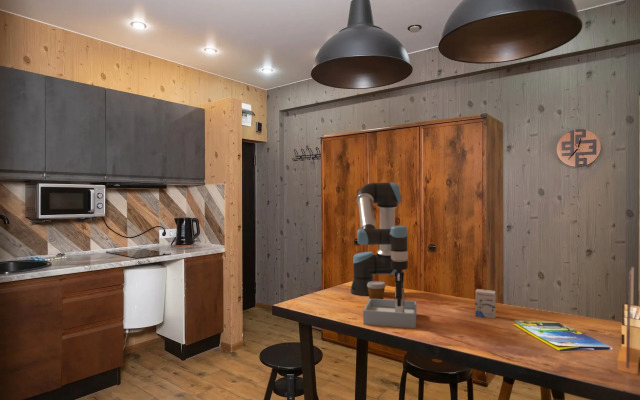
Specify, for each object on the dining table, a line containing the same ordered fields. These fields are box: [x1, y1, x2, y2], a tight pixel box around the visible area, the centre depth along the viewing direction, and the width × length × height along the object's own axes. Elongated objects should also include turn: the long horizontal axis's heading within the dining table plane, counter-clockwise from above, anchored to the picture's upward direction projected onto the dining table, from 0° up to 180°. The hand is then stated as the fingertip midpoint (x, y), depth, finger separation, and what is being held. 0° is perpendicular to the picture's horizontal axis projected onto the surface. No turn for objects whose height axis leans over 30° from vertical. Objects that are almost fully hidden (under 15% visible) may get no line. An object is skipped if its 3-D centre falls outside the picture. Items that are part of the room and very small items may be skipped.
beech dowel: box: [394, 287, 405, 313], centre depth 172 cm, size 4×4×14 cm
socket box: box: [362, 298, 418, 329], centre depth 174 cm, size 21×22×6 cm
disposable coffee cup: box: [367, 280, 386, 299], centre depth 194 cm, size 10×10×12 cm
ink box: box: [474, 288, 497, 320], centre depth 176 cm, size 9×5×12 cm, turn 62°
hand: (399, 310), depth 172 cm, fingers open, 6 cm apart
